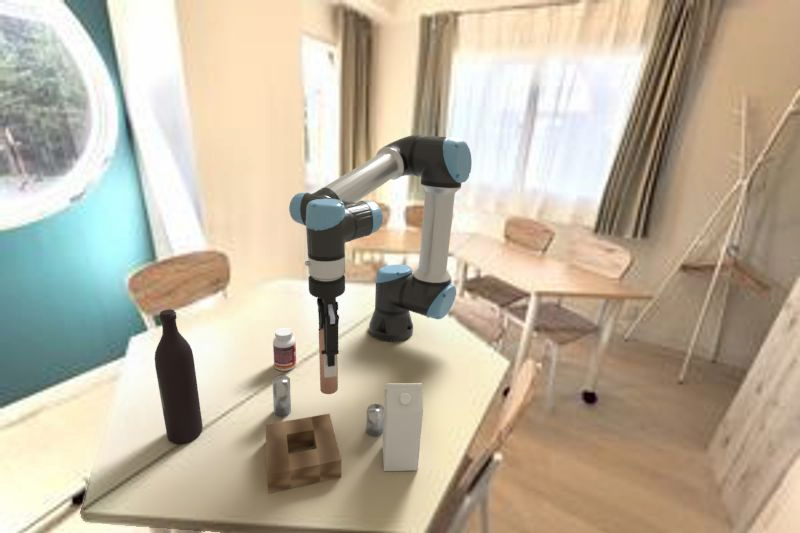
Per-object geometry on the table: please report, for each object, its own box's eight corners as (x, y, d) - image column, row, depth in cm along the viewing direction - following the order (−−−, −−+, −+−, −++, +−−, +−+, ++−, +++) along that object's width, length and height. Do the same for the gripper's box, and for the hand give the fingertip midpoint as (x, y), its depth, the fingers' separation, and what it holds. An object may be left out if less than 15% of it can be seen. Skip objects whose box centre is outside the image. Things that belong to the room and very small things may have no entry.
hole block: (329, 429, 95) (329, 413, 94) (341, 477, 83) (341, 459, 81) (266, 441, 91) (265, 424, 89) (268, 493, 78) (267, 475, 77)
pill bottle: (299, 368, 118) (298, 334, 114) (278, 374, 114) (276, 339, 111) (292, 357, 122) (290, 324, 119) (271, 363, 119) (269, 329, 115)
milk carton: (382, 446, 91) (385, 373, 85) (413, 445, 92) (419, 373, 86) (383, 471, 85) (387, 395, 78) (417, 471, 85) (424, 394, 79)
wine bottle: (190, 418, 96) (173, 301, 86) (209, 430, 93) (194, 310, 83) (160, 436, 90) (139, 313, 80) (180, 450, 87) (160, 323, 77)
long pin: (336, 382, 98) (335, 326, 92) (339, 392, 94) (338, 335, 89) (319, 384, 96) (317, 328, 91) (321, 395, 93) (320, 337, 88)
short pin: (380, 423, 98) (381, 402, 96) (385, 435, 95) (386, 413, 93) (364, 426, 97) (365, 405, 95) (368, 438, 93) (369, 416, 91)
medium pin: (290, 405, 102) (289, 374, 99) (291, 415, 99) (290, 384, 96) (273, 407, 101) (272, 376, 98) (274, 418, 98) (272, 386, 95)
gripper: (303, 262, 92) (307, 352, 100) (313, 293, 77) (317, 396, 85) (337, 259, 94) (338, 348, 102) (353, 289, 79) (353, 390, 87)
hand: (328, 369), depth 94 cm, fingers closed on long pin, 4 cm apart
